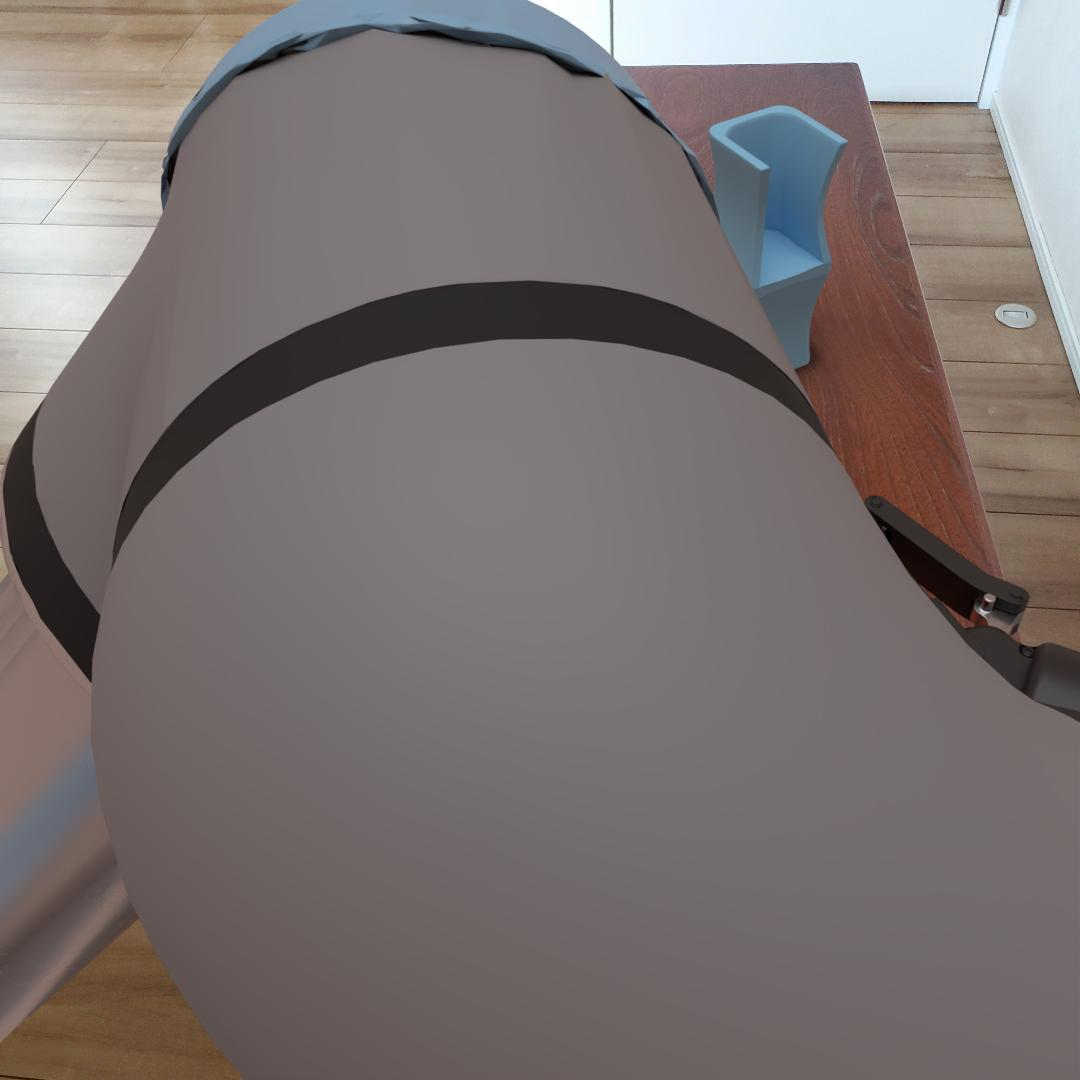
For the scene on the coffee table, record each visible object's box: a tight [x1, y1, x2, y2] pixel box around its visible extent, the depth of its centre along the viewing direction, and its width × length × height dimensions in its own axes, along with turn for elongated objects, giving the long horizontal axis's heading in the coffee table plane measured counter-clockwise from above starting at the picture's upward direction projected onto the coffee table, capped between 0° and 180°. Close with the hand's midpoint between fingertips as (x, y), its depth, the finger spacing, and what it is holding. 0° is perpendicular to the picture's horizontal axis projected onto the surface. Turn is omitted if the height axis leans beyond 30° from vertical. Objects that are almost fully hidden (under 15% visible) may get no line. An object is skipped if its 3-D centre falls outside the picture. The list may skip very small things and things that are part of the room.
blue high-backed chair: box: [708, 105, 849, 370], centre depth 91 cm, size 8×8×20 cm
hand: (664, 590), depth 58 cm, fingers open, 13 cm apart
